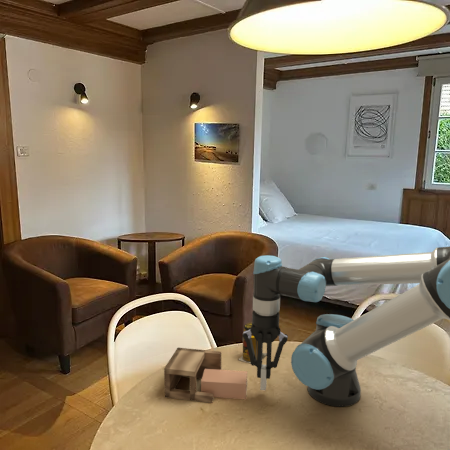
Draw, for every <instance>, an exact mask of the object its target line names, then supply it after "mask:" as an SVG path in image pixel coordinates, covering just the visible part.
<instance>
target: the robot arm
mask: <svg viewBox="0 0 450 450" xmlns="http://www.w3.org/2000/svg"><path fill="white" fill-rule="evenodd" d="M253 265H254V266H253V273H252V274H253V292H252V315H251V316H252V318H251V319H252V320H251V323H252V326H251V328H250V330H248V331H246V330H245V331H244V330H243V332H244V333H242V339H243V338H244V339H245V341H246V344H247V349H248V353H249V358H250V362H251V363H250V366H255V367H256V377H257V378H258V379H260V383H259V384H260V388H259V389H260V391H266V390H267V380H269V379H271V373H272V371H271V370H272V369H273V368H274V369H277V367H278V365H279V361H280V358H281V354H282V351H283V350H284V349H283V348H284V345H286V343H287V342H288V334H286V333H283V332H281V328H280V307H281V296H285V297H289V298H294V299H297V300H301V301H304V302H311V303H318V302H320V301H322V298H323V297H324V295H325V293H326V287H335V286H366V285H367V286H368V285H370V286H373V285H401V284H403V285H406V284H416V285H414V286H413V287H411V288H409V289H407V290H406V291H404V292H402V293H400V294H399V295H397V296H395V297H393V298H391V299H389V300H388V301H385V302H384V303H382V304H380V305H379V306H377V307H375V308H373V309H372V310H369V311H368V312H366V313H364V314H362V315H361V316H359V317H357V318H355V319H352V318H351V317H348V316H345V315H341V314H333V313H329V314H328V313H326V314H325V313H323V314H320V315H319V316H317V319H316V322H315V324H316V327H315V328H316V329H315V331H314V332H312V333H311V334H310V335H308V337H307V338H305V339H304V340H303V341H302V342H301V343H300V344H298V345H297V346H296V347H295V349H294V350H293V352H292V354H291V357H290V365H291V368H292V371H293V374H294V375H295V377H296V378H297V379H298V380H299V382H301V383H302V384H303V386H306V387H307V392H308V394H309V395H310V397H312V398H313V399H314V400H316V401H317V402H319V403H322V404H325V405H327V406H330V407H331V406H332V407H339V408H340V407H348V406H352V405H355V404H357V403H358V402H359V400H360V399H361V394H362V393H361V391H362V390H361V385H360V381H359V378H358V373H357V365H358V360H361V359H362V358H365V357H367V356H369V355H371V354H373V353H375V352H377V351H379V350H381V349H383V348H385V347H387V346H390V345H391V344H393V343H396V342H398V341H400V340H401V339H404V338H406V337H408V336H411V335H412V334H414V333H416V332H418V331H420V330H423V329H424V328H427V327H429V326H431V325H433V324H434V323H437V322H438V321H441V320H443V319H444V320H447V321H450V246H440V247H436V248H434V249H433V251H429V252H414V253H399V254H385V255H376V256H375V255H370V256H360V257H359V256H358V257H344V258H342V257H341V258H328V257H324V256H323V257H318V258H315V259H313V260H312V261H311V262H309V263H307V264H306V265H304V266H302V267H300V268H299V269H297V268H290V267H286V266H283V263H282V259H281V258H280V257H277V256H276V255H270V254H269V255H260V256H258V257H257V258H255V260H254V264H253ZM252 334H253V336H254V337H255V339H256V340H257V341H258V354H257V360H256V357H255V353H254V348H253V344H252V339H251V336H252ZM277 338H278V340H279V341H278V344H277V348H276V352H275V355H274V356H273V357H274V358H273V360H272V349H273V347H272V345H273V343H274V342H275V340H276V339H277ZM264 344H266V354H267V355H266V358H265V359H266V361H265V362H266V363H265V364H263V359H262V353H264V352H263V351H264V350H263V349H264Z"/></svg>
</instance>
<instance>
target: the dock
mask: <svg viewBox="0 0 450 450" xmlns="http://www.w3.org/2000/svg"><path fill="white" fill-rule="evenodd" d="M205 369H217V370H222V351H219V350H207V349H198V348H195V349H194V348H189V347H188V348H186V347H177V348H176V349H175V351H174V353H173V354H172V355H171V358H170V359H169V361H168V362H167V363H166V365H165V367H164V368H163V375H164V376H163V377H164V398H167V399H168V398H169V399H175V400H176V399H177V400H185V401H193V402H200V403H201V402H203V403H210V404H211V403H213V402H214V397H213V393H205V392H201V391H197V380H198V379H199V380H202V377H203V373H204V370H205ZM181 378H188V379H189V390H187V389H180V388H179V389H177V388H176V387H177V385H178V383H179V382H180V380H181Z"/></svg>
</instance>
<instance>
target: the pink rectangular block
mask: <svg viewBox="0 0 450 450" xmlns="http://www.w3.org/2000/svg"><path fill="white" fill-rule="evenodd" d="M200 389H201V390H200V392H205V393H213V398H222V399H223V398H224V399H235V400H236V399H239V400H247V393H248V371H247V370H246V371H245V370H233V369H230V370H229V369H221V370H217V369H205V370H204V373H203V377H202V379H200Z"/></svg>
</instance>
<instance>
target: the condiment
mask: <svg viewBox="0 0 450 450" xmlns="http://www.w3.org/2000/svg"><path fill="white" fill-rule="evenodd" d="M251 326H252V322H248V323H247V322H246V323H245V324H244V325H243V333H244V331H245V330H246V331H248V330H250V328H251ZM243 333H242V334H243ZM251 339H252V344H253V348H254V353H255V357H256V360H257V354H258V341H257V340H256V339H255V337H254V336H253V334H252V336H251ZM265 357H267V352H263V353H262V360H263V359H264V358H265ZM238 361H240V362H241V361H242V362H245V363H249V364H251V362H250V358H249V353H248V349H247V344H246V341H245V339H244V338H243V337H242V355H241V357H239V359H238Z"/></svg>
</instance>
